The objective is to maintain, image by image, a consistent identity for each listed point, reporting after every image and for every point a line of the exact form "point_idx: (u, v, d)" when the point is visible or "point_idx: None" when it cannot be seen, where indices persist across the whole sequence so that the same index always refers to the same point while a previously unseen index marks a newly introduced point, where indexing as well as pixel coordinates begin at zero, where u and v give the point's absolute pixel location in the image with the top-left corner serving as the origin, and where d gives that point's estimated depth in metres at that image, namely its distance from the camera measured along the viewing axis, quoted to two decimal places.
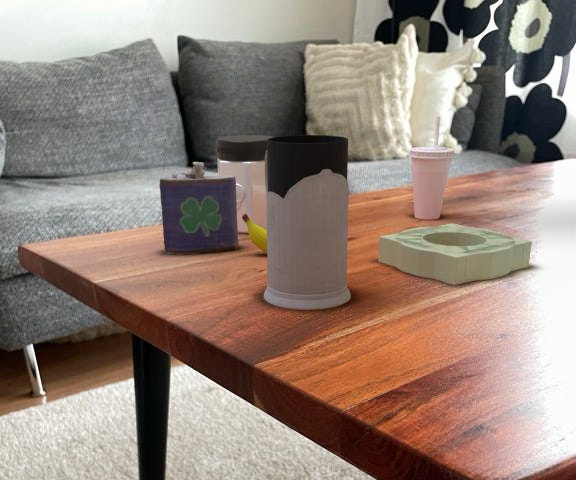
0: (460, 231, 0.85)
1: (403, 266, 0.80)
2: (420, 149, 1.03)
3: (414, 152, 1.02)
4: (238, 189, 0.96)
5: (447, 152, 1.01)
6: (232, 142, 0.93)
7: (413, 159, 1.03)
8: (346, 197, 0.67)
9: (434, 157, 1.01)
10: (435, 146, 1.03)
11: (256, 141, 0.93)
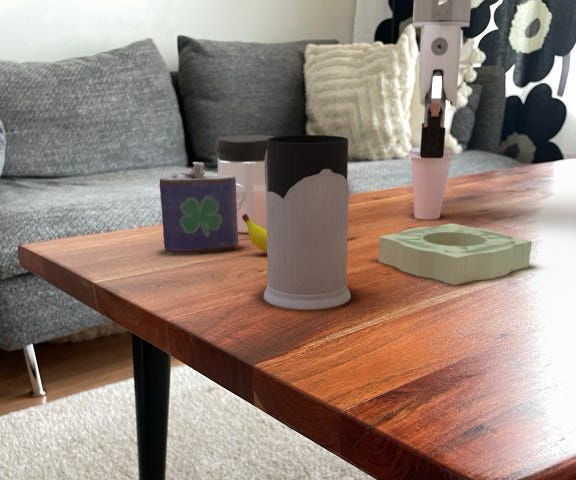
0: (460, 231, 0.85)
1: (403, 266, 0.80)
2: None
3: (414, 152, 1.02)
4: (238, 189, 0.96)
5: (447, 152, 1.01)
6: (232, 142, 0.93)
7: (413, 159, 1.03)
8: (346, 197, 0.67)
9: None
10: None
11: (256, 141, 0.93)
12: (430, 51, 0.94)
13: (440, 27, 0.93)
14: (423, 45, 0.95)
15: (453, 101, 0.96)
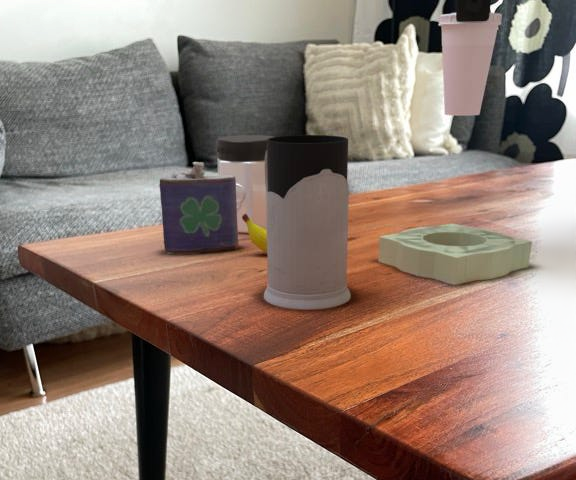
0: (460, 231, 0.85)
1: (403, 266, 0.80)
2: (454, 14, 0.74)
3: (446, 17, 0.73)
4: (238, 189, 0.96)
5: (493, 15, 0.72)
6: (232, 142, 0.93)
7: (444, 28, 0.74)
8: (346, 197, 0.67)
9: None
10: None
11: (256, 141, 0.93)
12: None
13: None
14: None
15: None
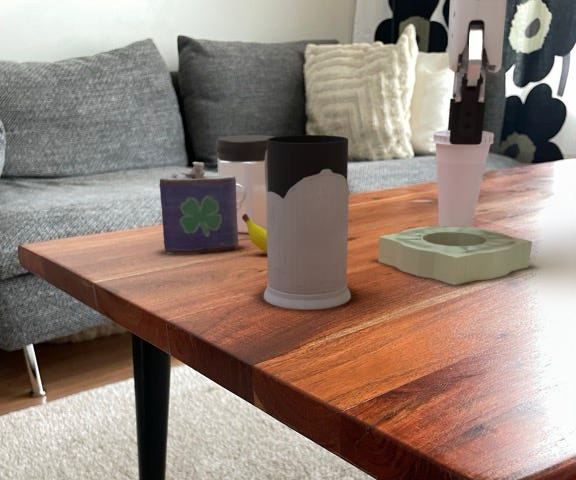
0: (460, 231, 0.85)
1: (403, 266, 0.80)
2: (448, 133, 0.76)
3: (440, 137, 0.76)
4: (238, 189, 0.96)
5: (485, 137, 0.75)
6: (232, 142, 0.93)
7: (438, 146, 0.77)
8: (346, 197, 0.67)
9: None
10: None
11: (256, 141, 0.93)
12: None
13: None
14: None
15: (497, 65, 0.69)
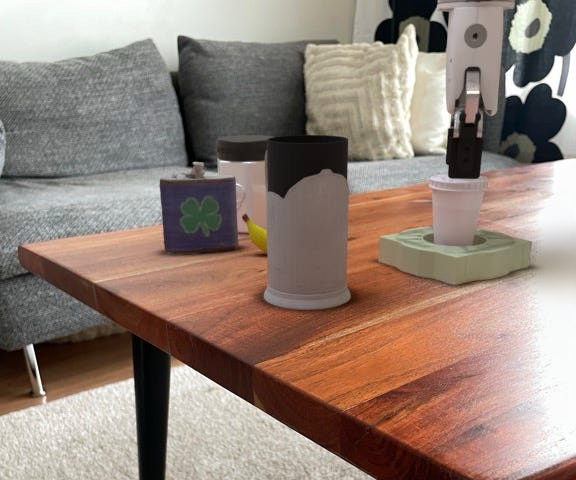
0: None
1: (403, 266, 0.80)
2: (444, 178, 0.78)
3: (436, 182, 0.78)
4: (238, 189, 0.96)
5: (480, 183, 0.76)
6: (232, 142, 0.93)
7: (434, 191, 0.79)
8: (346, 197, 0.67)
9: (463, 189, 0.76)
10: None
11: (256, 141, 0.93)
12: (463, 42, 0.69)
13: (477, 9, 0.68)
14: (453, 34, 0.70)
15: (493, 110, 0.71)
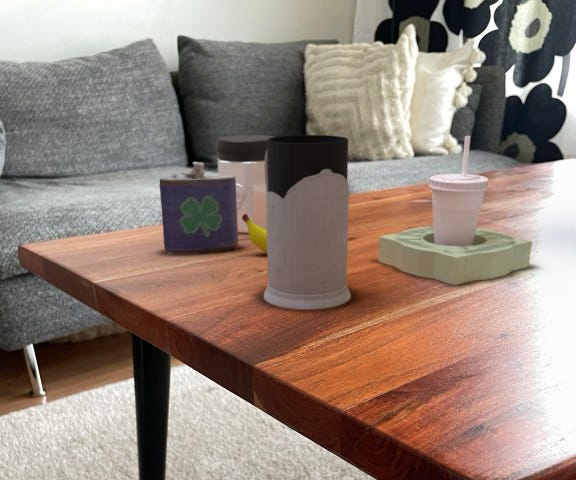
0: None
1: (403, 266, 0.80)
2: (444, 178, 0.78)
3: (436, 182, 0.78)
4: (238, 189, 0.96)
5: (480, 183, 0.76)
6: (232, 142, 0.93)
7: (434, 191, 0.79)
8: (346, 197, 0.67)
9: (463, 189, 0.76)
10: (463, 174, 0.78)
11: (256, 141, 0.93)
12: None
13: None
14: None
15: None
